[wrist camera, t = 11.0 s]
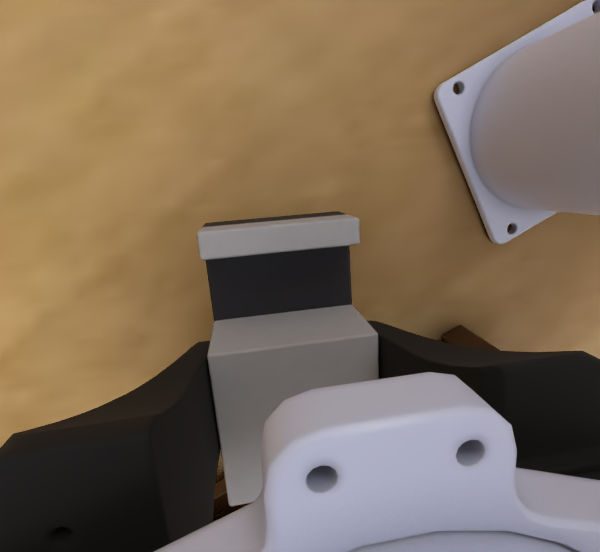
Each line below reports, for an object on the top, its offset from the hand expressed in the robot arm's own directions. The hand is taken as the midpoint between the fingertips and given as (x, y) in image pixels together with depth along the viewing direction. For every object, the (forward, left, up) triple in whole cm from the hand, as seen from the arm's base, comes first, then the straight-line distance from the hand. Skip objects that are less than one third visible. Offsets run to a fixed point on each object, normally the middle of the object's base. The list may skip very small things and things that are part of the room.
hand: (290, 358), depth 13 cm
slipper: (0, 0, -1) cm, 2 cm away
